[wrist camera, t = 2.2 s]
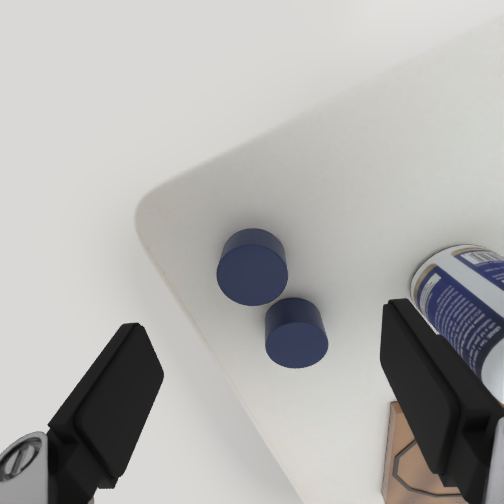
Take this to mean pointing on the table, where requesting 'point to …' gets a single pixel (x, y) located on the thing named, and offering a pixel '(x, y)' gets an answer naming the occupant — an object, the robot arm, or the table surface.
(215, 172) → the table surface
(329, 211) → the table surface
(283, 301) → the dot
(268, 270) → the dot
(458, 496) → the face mat
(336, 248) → the table surface
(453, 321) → the pill bottle
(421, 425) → the robot arm
